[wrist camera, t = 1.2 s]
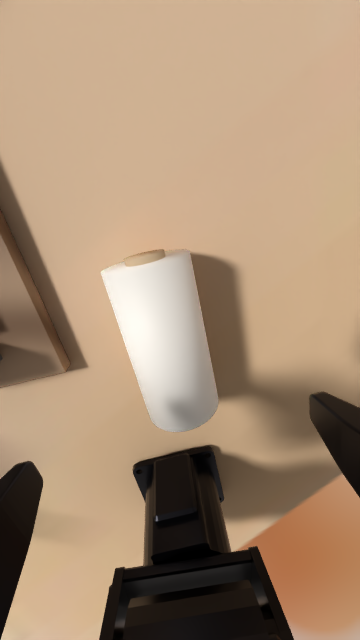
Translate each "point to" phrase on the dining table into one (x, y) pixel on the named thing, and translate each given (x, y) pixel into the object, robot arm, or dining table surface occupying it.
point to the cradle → (24, 321)
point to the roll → (165, 336)
